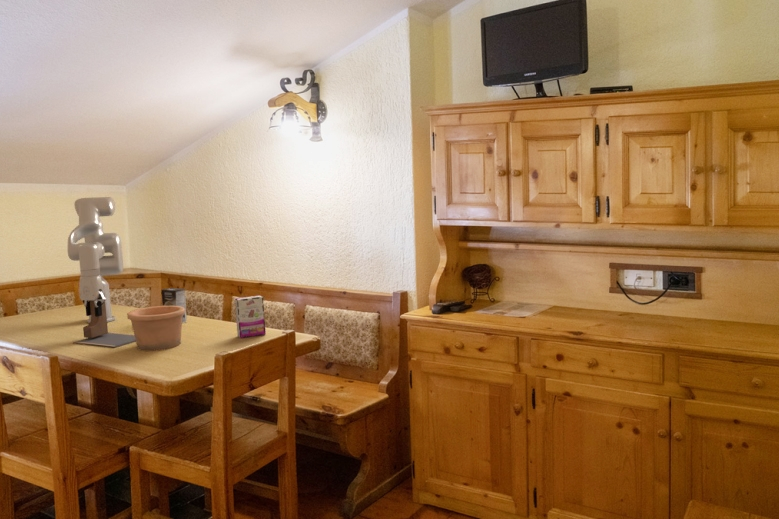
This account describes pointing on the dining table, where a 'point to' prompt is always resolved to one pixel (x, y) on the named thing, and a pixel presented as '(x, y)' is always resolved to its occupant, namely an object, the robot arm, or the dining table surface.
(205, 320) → the dining table surface
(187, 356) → the dining table surface
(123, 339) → the mat
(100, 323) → the brown boot
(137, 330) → the pottery
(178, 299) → the coffee box
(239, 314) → the candy bar box
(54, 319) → the dining table surface
